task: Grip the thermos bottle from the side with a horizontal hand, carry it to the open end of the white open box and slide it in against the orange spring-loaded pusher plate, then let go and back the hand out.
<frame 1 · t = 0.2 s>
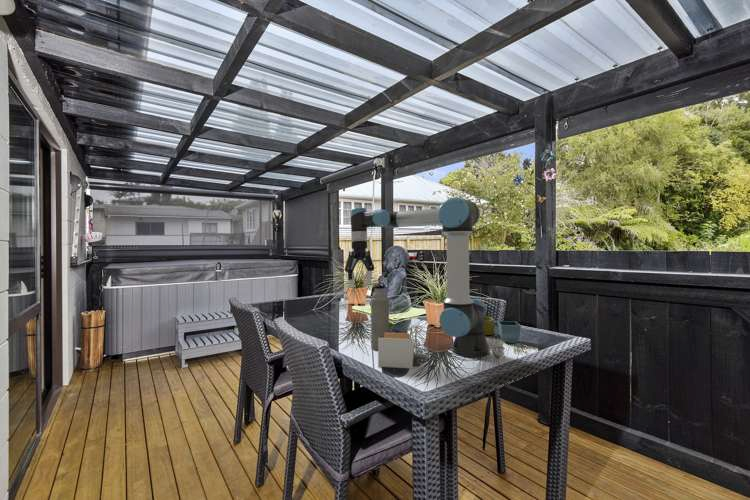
hand: (360, 285, 167), 27 cm above the table, tool pointing down, fingers open, 13 cm apart
mug: (481, 334, 181), on the table
white open box: (397, 358, 144), on the table
thermos bottle: (380, 348, 159), on the table
pusher: (396, 346, 139), point 6 cm above the table, slide at 0.0 cm
flower pot: (508, 342, 167), on the table
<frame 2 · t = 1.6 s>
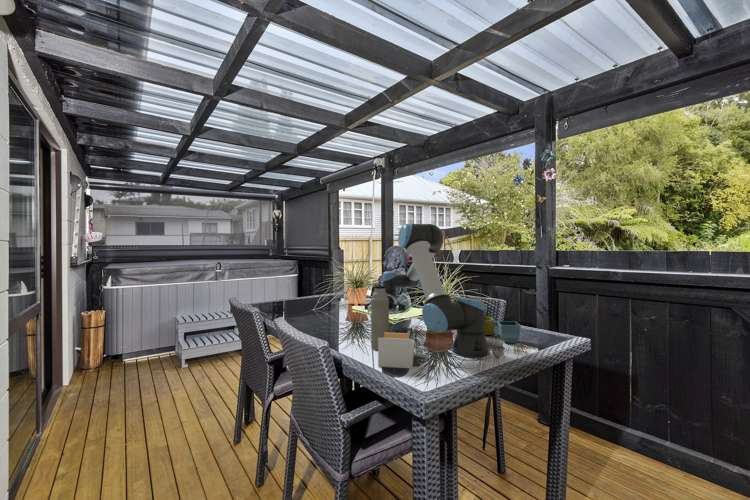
hand: (382, 310, 168), 15 cm above the table, tool horizontal, fingers open, 13 cm apart
nothing on the table moved.
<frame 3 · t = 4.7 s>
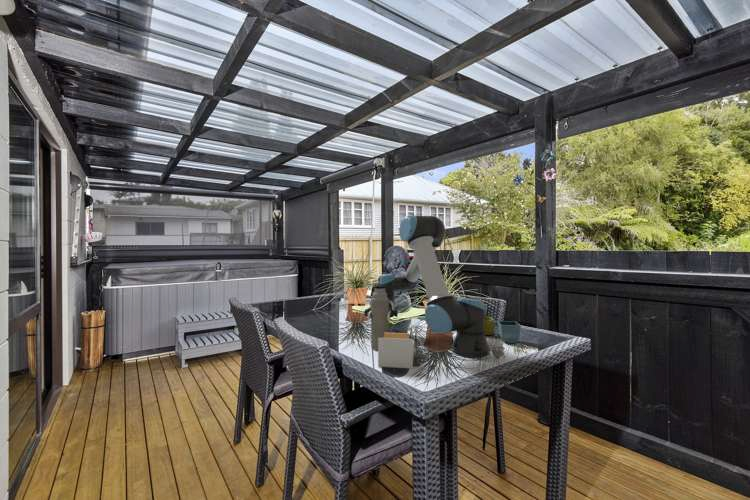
hand: (378, 317, 154), 15 cm above the table, tool horizontal, fingers closed on thermos bottle, 8 cm apart
thermos bottle: (380, 348, 159), on the table, touching gripper
everything else where it was.
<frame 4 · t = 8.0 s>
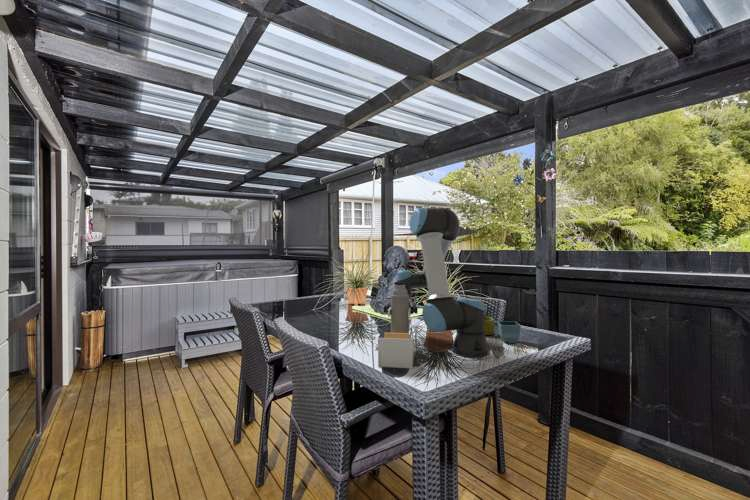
hand: (398, 313, 151), 17 cm above the table, tool horizontal, fingers closed on thermos bottle, 8 cm apart
thermos bottle: (399, 345, 156), point 2 cm above the table, touching gripper
everything else where it was.
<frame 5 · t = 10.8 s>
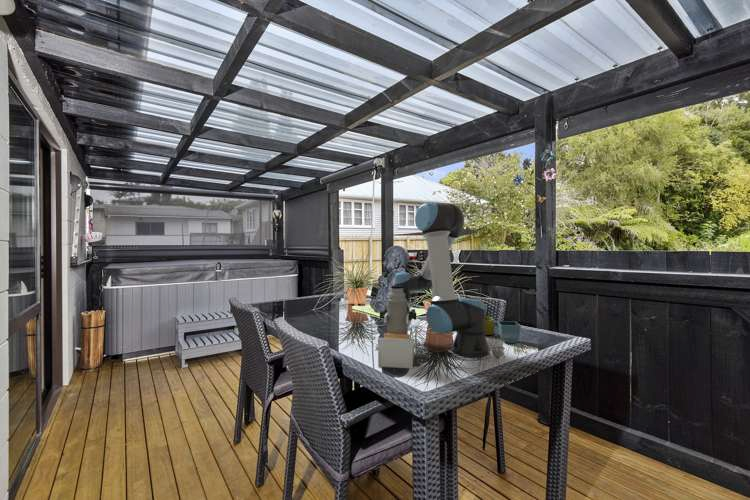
hand: (396, 319, 139), 17 cm above the table, tool horizontal, fingers closed on thermos bottle, 8 cm apart
thermos bottle: (397, 354, 144), point 2 cm above the table, touching gripper, pusher
pusher: (396, 347, 138), point 6 cm above the table, slide at 1.2 cm, touching thermos bottle
everything else where it was.
when the fingers open (17 cm above the table, at t = 11.3 s): thermos bottle stays where it is, resting on white open box.
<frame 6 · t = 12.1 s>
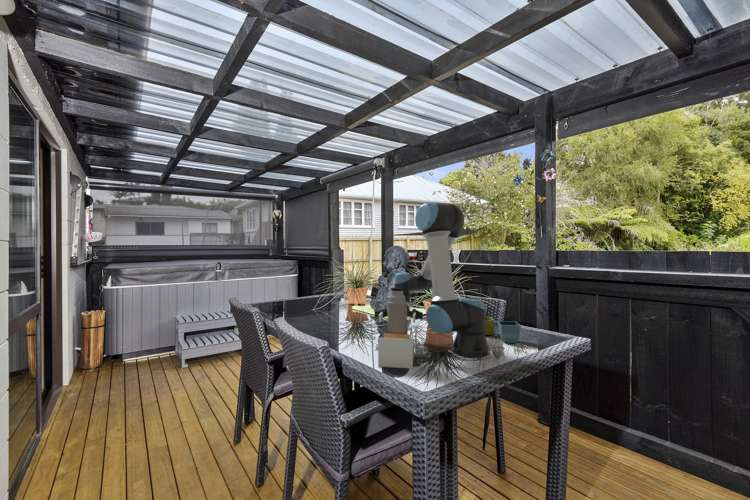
hand: (396, 319, 140), 17 cm above the table, tool horizontal, fingers open, 13 cm apart
thermos bottle: (397, 356, 144), point 1 cm above the table, touching white open box
pusher: (396, 347, 138), point 6 cm above the table, slide at 1.4 cm
everything else where it was.
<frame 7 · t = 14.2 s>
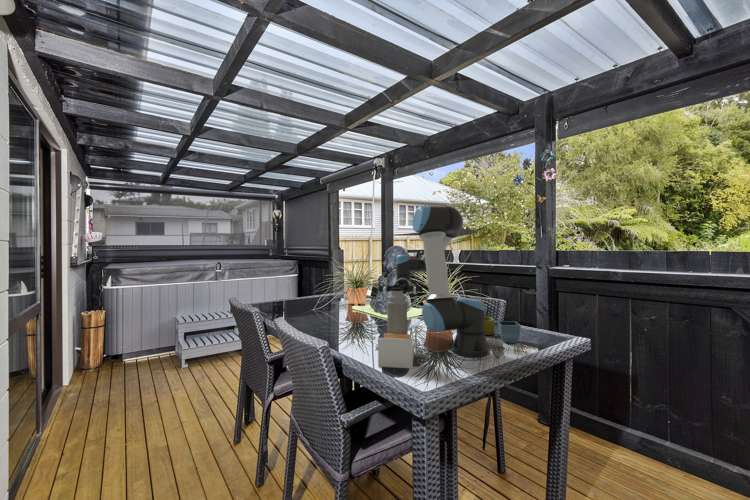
hand: (399, 291, 156), 26 cm above the table, tool horizontal, fingers open, 13 cm apart
nothing on the table moved.
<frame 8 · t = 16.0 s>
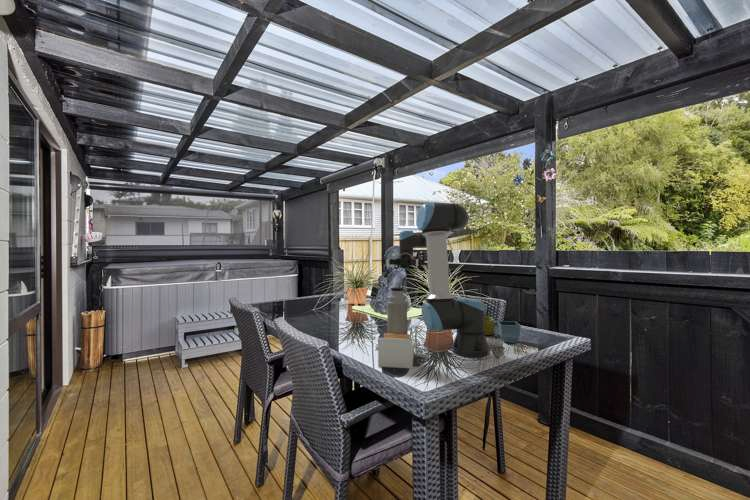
hand: (401, 263, 159), 38 cm above the table, tool horizontal, fingers open, 13 cm apart
nothing on the table moved.
at the end: thermos bottle 0.2 cm from the white open box (horizontally); thermos bottle tilted 0°; the gripper is holding nothing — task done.
